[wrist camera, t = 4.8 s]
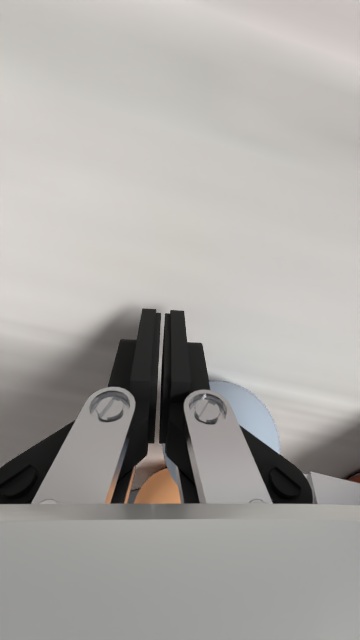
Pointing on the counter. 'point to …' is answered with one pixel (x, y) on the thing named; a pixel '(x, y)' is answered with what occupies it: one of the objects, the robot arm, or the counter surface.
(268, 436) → the light blue ball
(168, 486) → the orange ball
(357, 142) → the counter surface
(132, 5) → the counter surface
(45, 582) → the robot arm
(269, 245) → the counter surface
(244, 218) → the counter surface
